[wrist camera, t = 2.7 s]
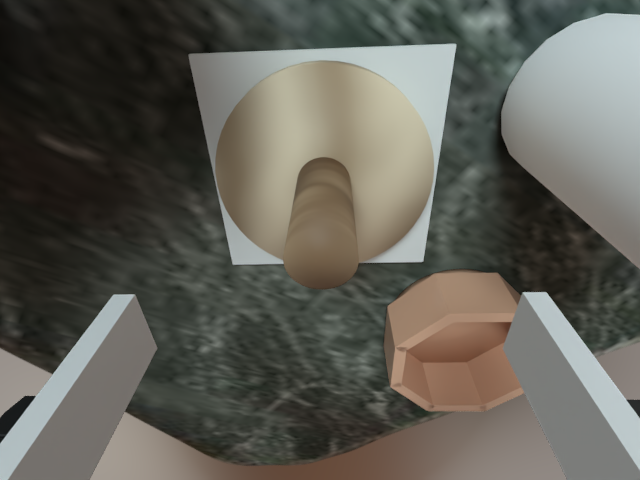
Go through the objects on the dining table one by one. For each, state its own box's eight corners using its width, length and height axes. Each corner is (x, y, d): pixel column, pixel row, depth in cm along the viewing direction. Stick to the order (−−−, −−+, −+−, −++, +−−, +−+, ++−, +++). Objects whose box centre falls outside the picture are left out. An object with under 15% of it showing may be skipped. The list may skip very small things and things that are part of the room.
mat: (234, 261, 27) (232, 264, 27) (190, 53, 19) (188, 54, 19) (421, 258, 27) (423, 262, 26) (454, 43, 19) (456, 44, 19)
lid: (238, 259, 27) (202, 360, 19) (199, 64, 19) (117, 105, 12) (416, 256, 26) (451, 360, 19) (444, 55, 19) (519, 92, 11)
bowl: (380, 359, 33) (387, 411, 29) (388, 265, 27) (399, 313, 23) (500, 358, 33) (525, 411, 28) (536, 263, 27) (574, 312, 22)
